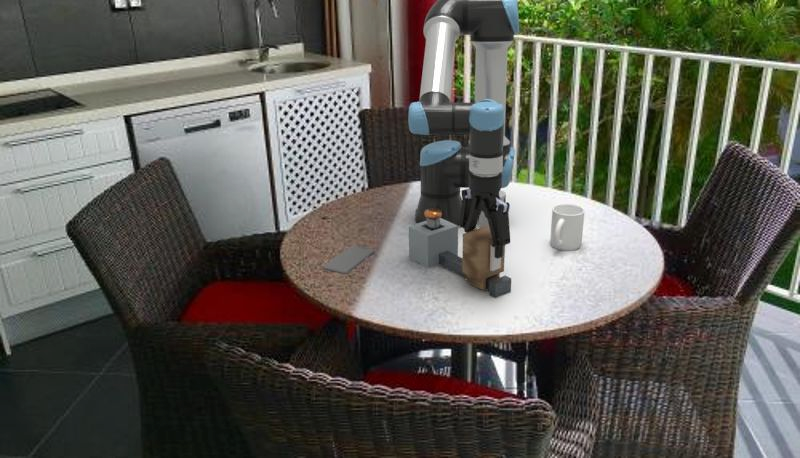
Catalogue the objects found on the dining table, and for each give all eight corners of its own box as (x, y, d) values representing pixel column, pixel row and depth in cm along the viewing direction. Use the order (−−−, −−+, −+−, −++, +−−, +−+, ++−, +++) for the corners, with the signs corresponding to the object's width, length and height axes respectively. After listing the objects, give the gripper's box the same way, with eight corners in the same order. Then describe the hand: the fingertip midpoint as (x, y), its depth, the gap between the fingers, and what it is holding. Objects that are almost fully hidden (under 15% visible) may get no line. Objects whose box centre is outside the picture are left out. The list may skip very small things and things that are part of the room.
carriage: (462, 282, 165) (462, 234, 160) (486, 273, 169) (487, 225, 164) (478, 292, 160) (480, 242, 155) (503, 282, 165) (505, 233, 159)
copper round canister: (421, 236, 177) (421, 211, 174) (434, 231, 179) (434, 207, 177) (432, 241, 174) (431, 216, 171) (445, 237, 176) (445, 212, 173)
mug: (569, 259, 176) (572, 222, 172) (539, 251, 181) (541, 215, 177) (586, 242, 185) (589, 207, 181) (557, 236, 190) (559, 201, 186)
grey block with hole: (409, 257, 179) (408, 226, 176) (438, 247, 185) (438, 216, 181) (428, 268, 173) (427, 235, 170) (457, 257, 179) (458, 225, 175)
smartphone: (320, 267, 175) (352, 244, 187) (321, 270, 175) (352, 247, 187) (345, 273, 171) (376, 249, 183) (345, 276, 172) (376, 252, 184)
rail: (435, 265, 175) (435, 253, 173) (450, 260, 177) (450, 247, 176) (495, 298, 158) (495, 284, 157) (510, 291, 161) (511, 278, 160)
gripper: (443, 164, 159) (443, 253, 168) (505, 187, 144) (502, 283, 153) (467, 158, 163) (466, 245, 172) (530, 179, 148) (525, 273, 157)
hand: (483, 262), depth 163 cm, fingers open, 8 cm apart
